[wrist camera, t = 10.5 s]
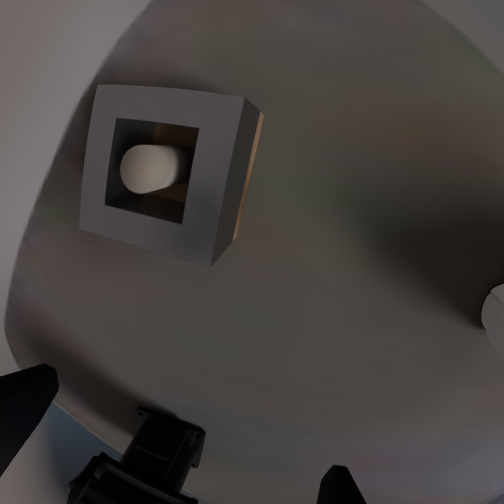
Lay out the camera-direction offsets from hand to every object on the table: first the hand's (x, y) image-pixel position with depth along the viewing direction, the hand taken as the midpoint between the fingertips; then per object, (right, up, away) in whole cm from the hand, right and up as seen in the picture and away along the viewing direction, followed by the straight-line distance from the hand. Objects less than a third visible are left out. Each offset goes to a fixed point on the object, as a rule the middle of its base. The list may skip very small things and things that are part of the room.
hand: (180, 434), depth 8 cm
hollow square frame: (-2, +10, +8) cm, 13 cm away
